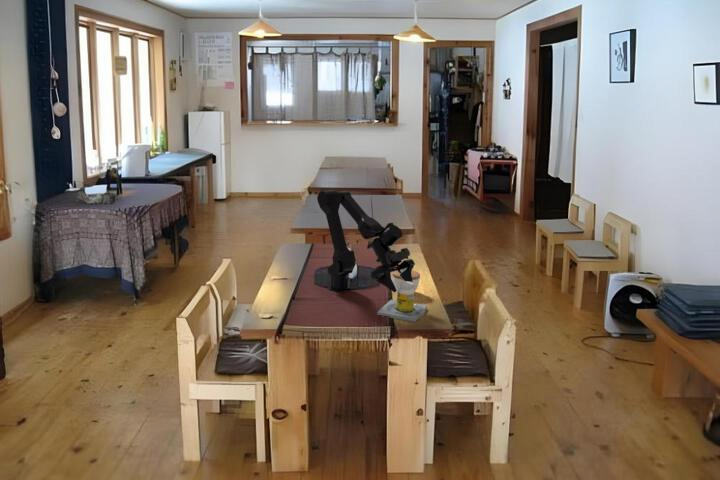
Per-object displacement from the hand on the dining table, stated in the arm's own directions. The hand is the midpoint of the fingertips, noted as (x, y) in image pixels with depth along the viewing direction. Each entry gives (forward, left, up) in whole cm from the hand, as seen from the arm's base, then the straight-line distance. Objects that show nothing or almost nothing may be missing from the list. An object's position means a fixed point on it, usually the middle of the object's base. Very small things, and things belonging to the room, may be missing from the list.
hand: (404, 289), depth 272 cm
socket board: (0, -1, -8) cm, 8 cm away
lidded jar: (-6, +22, -9) cm, 25 cm away
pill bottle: (+1, -1, -9) cm, 9 cm away
